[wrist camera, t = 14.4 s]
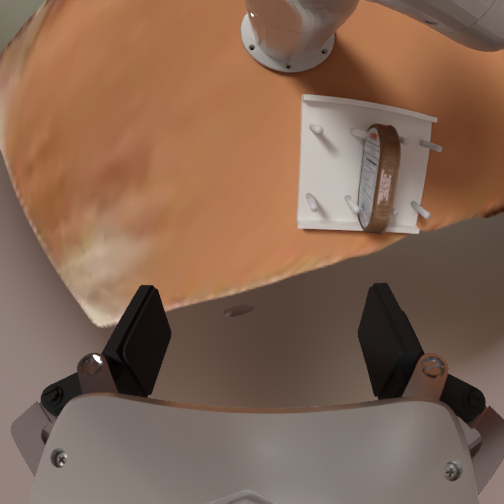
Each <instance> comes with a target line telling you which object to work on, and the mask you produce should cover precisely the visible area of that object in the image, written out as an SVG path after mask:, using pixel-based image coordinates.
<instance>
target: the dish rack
mask: <svg viewBox="0 0 504 504" xmlns="http://www.w3.org/2000/svg"><path fill="white" fill-rule="evenodd" d="M432 122H435V123H437V118H436V117H432V116H429V115H425V114H422V113H418V112H414V111H410V110H406V109H402V108H397V107H393V106H388V105H383V104H378V103H372V102H366V101H360V100H354V99H347V98H339V97H331V96H321V95H309V94H303V95H301V133H300V161H299V183H298V201H297V217H296V222H297V227H298V228H301V229H331V230H356V231H363V229H362V227H361V225H360V223H359V220H358V214H359V213H360V211H361V209H360V208H359V206H358V205H357V201H358V190H359V182H360V174H361V165H362V156H363V147H364V140H365V139H367V138H368V137H369V133H368V132H367V130H368V128H369V127H370V126H371V125H372V124H376V123H377V124H383V125H392V126H393V127H394V128H395V129H396V130H397V133H398V135H399V139H400V145H401V160H400V168H399V174H398V180H397V187H396V192H395V198H394V204H393V209H392V214H391V219H390V222H389V225H388V227H387V229H386V231H385V232H396V233H414V234H419V230H420V229H419V228H418V227H417V226H416V222H417V218H418V213H420V214H421V215H422V216H423V217H424V218H426V219H429V218H430V213H428V212H427V211H426V210H425V209H424V208H422V207H421V206H420V204H421V199H422V194H423V189H424V183H425V177H426V171H427V164H428V157H429V149H431V150H434V151H436V152H439V153H441V152H442V147H441V146H440V145H437V144H434V143H431V142H430V139H431V128H432Z"/></svg>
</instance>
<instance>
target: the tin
mask: <svg viewBox="0 0 504 504" xmlns="http://www.w3.org/2000/svg"><path fill="white" fill-rule="evenodd" d="M367 132H368V133H369V137H368V138H367V139H365V140H364V147H363V156H362V165H361V174H360V182H359V190H358V201H357V205H358V206H359V208H360V209H361V211H360V213H359V214H358V220H359V223H360V225H361V227H362V229H363V231H364V232H367V233H377V234H383V233H384V232H385V231H386V229H387V227H388V225H389V222H390V219H391V214H392V209H393V204H394V198H395V192H396V187H397V180H398V174H399V168H400V160H401V145H400V139H399V135H398V133H397V130H396V129H395V128H394V127H393V126H392V125H383V124H377V123H376V124H372V125H371V126H370V127H369V128H368V130H367Z"/></svg>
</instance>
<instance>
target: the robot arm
mask: <svg viewBox="0 0 504 504" xmlns="http://www.w3.org/2000/svg"><path fill="white" fill-rule="evenodd" d="M366 1H369V2H375V3H378V4H381V5H383V6H386V7H388V8H391V9H393V10H395V11H398V12H400V13H402V14H404V15H407V16H409V17H411V18H413V19H415V20H417V21H419V22H421V23H423V24H425V25H427V26H429V27H431V28H432V29H434V30H436V31H438V32H440V33H441V34H443V35H445V36H447V37H448V38H450V39H452V40H454V41H456V42H457V43H460V44H462V45H464V46H466V47H468V48H471V49H474V50H478V51H484V52H494V51H499V50H502V49H504V0H366ZM358 2H359V0H245V4H246V8H247V13H246V14H245V16H244V18H243V20H242V23H241V30H240V32H241V39H242V42H243V45H244V47H245V49H246V50H247V52H248V53H249V54H250V56H251V57H252V58H253V59H255V60H256V61H257V62H258V63H260V64H262V65H263V66H265V67H267V68H270V69H272V70H275V71H280V72H288V73H294V72H302V71H306V70H309V69H312V68H314V67H316V66H317V65H319V64H320V63H322V62H323V61H324V60H325V59H326V58H327V57H328V56H329V54H330V53H331V50H332V48H333V46H334V41H335V32H336V30H337V29H338V28H339V27H340V26H341V25H342V24H343V23H344V22H345V21H346V20H347V19H348V18H349V17H350V16H351V15H352V13H353V12H354V10H355V9H356V7H357V5H358ZM251 48H254V50H251ZM322 51H324V52H325V54H323V53H322ZM287 66H290V69H287ZM358 338H359V342H360V345H361V348H362V352H363V355H364V359H365V363H366V366H367V369H368V373H369V377H370V381H371V385H372V389H373V393H374V396H375V397H377V396H378V400H375V401H368V402H360V403H352V404H343V405H332V406H321V407H303V408H235V407H218V406H206V405H195V404H186V403H177V402H171V401H164V400H157V399H151V398H147V397H148V395H151V393H152V391H153V388H154V385H155V382H156V379H157V376H158V373H159V370H160V367H161V364H162V361H163V358H164V356H165V353H166V350H167V347H168V344H169V341H170V339H171V329H170V326H169V323H168V320H167V317H166V314H165V311H164V308H163V305H162V301H161V298H160V295H159V291H158V289H155V287H154V286H152V285H141V286H140V287H139V289H138V290H137V292H136V294H135V295H134V297H133V299H132V300H131V302H130V304H129V305H128V307H127V309H126V311H125V312H124V314H123V315H122V317H121V319H120V321H119V323H118V324H117V326H116V328H115V330H114V332H113V333H112V335H111V337H110V339H109V341H108V343H107V345H106V346H105V348H104V350H103V352H102V354H100V353H90V354H87V355H85V356H84V357H83V358H82V359H81V360H80V361H79V363H78V365H77V373H74V374H72V375H70V376H68V377H66V378H64V379H62V380H60V381H58V382H56V383H54V384H51V385H50V386H48V387H47V388H45V390H44V391H43V393H42V395H41V402H40V403H38V402H36V403H34V404H33V405H32V406H31V407H30V408H29V409H27V410H26V411H25V412H24V413H23V414H22V415H21V416H19V417H18V418H17V419H16V420H15V421H14V422H13V424H12V426H11V434H12V437H13V439H14V441H15V443H16V445H17V447H18V449H19V451H20V452H21V454H22V456H23V458H24V459H25V461H26V463H27V465H28V467H29V468H30V470H31V471H32V473H33V475H34V476H35V481H34V484H33V488H32V493H31V498H30V503H29V504H479V501H478V495H479V494H480V492H481V491H482V490H483V488H484V487H485V486H486V484H487V483H488V481H489V480H490V479H491V477H492V476H493V474H494V473H495V471H496V470H497V468H498V467H499V466H500V464H501V462H502V461H503V459H504V419H503V418H502V417H501V416H500V415H499V414H498V413H497V412H496V411H495V410H494V409H492V408H491V407H490V406H489V407H488V408H487V407H486V406H485V397H484V395H483V393H482V392H481V391H480V390H478V389H477V388H475V387H473V386H471V385H469V384H468V383H466V382H463V381H462V380H460V379H458V378H456V377H454V376H452V375H450V374H448V365H447V363H446V361H445V360H444V359H443V358H442V357H441V356H439V355H437V354H432V353H430V354H429V353H428V354H424V352H423V349H422V347H421V345H420V343H419V341H418V339H417V337H416V334H415V332H414V330H413V328H412V326H411V324H410V322H409V320H408V318H407V316H406V314H405V313H404V312H403V311H402V310H401V308H400V307H399V305H398V303H397V301H396V299H395V297H394V295H393V293H392V291H391V290H390V288H389V286H388V284H387V283H374V284H373V287H370V288H369V291H368V295H367V299H366V303H365V307H364V311H363V314H362V318H361V322H360V325H359V329H358Z"/></svg>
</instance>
